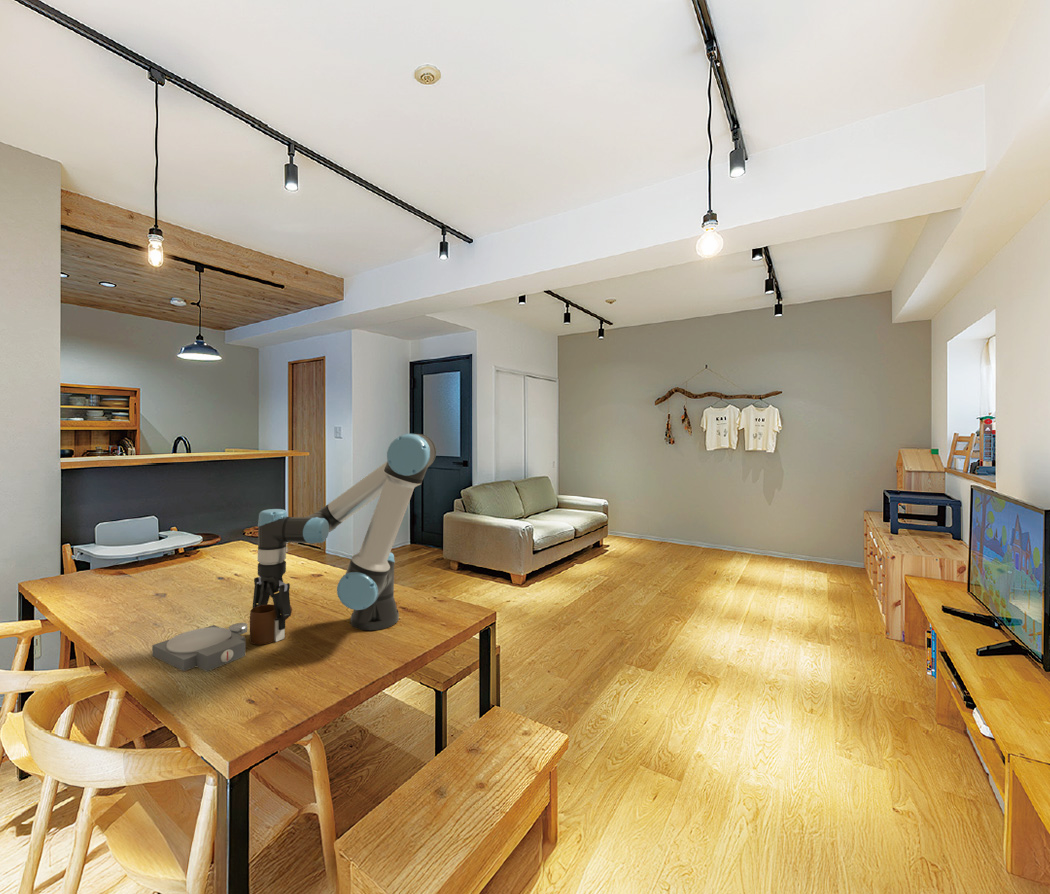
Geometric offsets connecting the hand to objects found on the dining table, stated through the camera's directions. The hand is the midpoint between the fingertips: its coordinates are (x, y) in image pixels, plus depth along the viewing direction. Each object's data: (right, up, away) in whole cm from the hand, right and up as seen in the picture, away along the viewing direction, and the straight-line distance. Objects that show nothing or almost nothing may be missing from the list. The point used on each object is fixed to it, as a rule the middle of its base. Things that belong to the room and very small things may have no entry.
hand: (271, 636), depth 145 cm
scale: (-12, 0, -12) cm, 17 cm away
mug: (0, 0, 0) cm, 1 cm away
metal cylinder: (-12, 0, +3) cm, 12 cm away
